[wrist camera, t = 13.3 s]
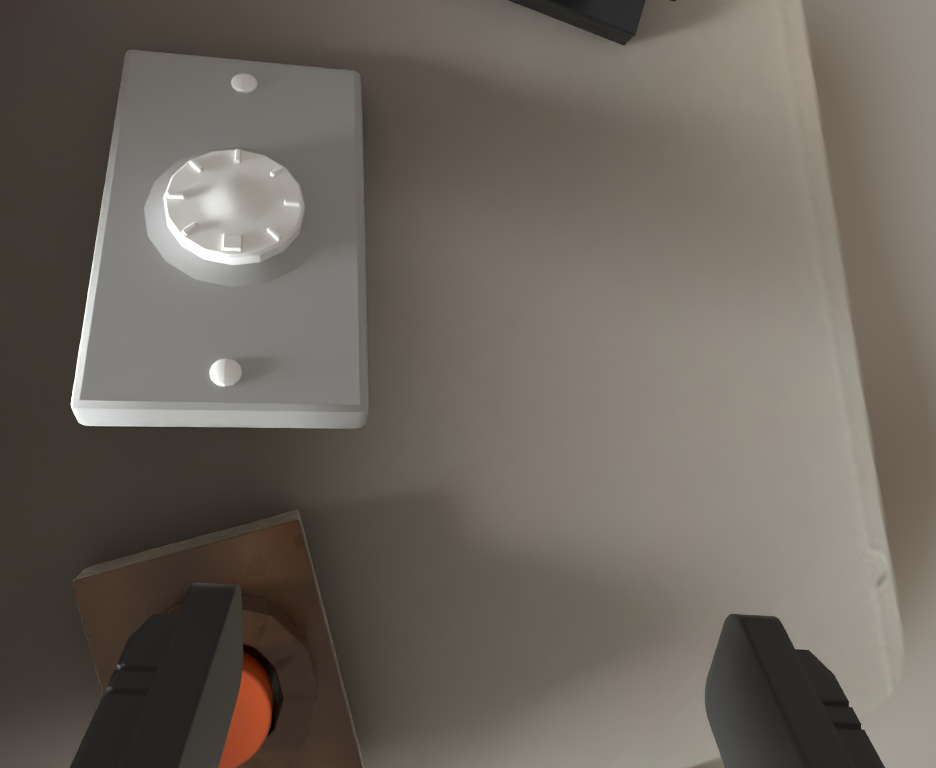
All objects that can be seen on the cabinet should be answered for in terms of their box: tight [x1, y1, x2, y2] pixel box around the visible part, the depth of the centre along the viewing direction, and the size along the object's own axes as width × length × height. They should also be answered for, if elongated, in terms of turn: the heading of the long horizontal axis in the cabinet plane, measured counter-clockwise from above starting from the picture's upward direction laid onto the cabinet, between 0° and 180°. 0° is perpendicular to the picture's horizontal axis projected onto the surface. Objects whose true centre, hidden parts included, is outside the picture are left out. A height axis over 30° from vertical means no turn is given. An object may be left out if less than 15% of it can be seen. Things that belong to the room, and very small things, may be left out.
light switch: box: [71, 50, 369, 429], centre depth 30 cm, size 8×6×14 cm
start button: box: [219, 651, 273, 768], centre depth 28 cm, size 4×4×2 cm
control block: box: [72, 510, 363, 768], centre depth 31 cm, size 8×10×4 cm
